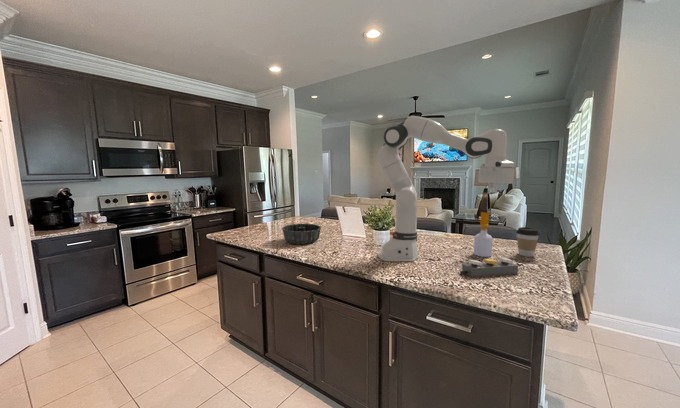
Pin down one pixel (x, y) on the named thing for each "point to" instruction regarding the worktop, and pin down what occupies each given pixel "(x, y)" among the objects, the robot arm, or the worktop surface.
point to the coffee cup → (527, 241)
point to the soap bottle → (483, 238)
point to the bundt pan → (301, 233)
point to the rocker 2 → (490, 261)
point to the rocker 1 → (475, 262)
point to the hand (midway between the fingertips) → (493, 192)
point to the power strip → (489, 269)
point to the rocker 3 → (505, 260)
